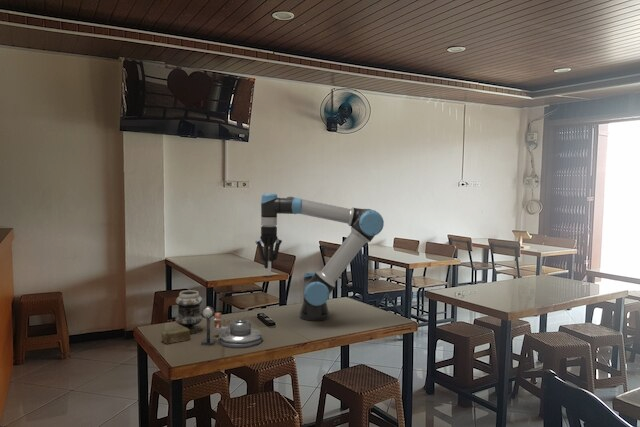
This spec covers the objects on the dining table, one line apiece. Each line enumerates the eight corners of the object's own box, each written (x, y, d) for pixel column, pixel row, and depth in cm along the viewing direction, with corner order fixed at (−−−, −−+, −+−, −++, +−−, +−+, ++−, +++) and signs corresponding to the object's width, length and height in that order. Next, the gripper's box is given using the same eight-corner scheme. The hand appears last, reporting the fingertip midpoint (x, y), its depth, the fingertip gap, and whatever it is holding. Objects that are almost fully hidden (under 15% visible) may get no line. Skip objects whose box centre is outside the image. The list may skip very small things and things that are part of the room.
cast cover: (238, 328, 218) (238, 315, 217) (255, 332, 214) (255, 319, 213) (225, 334, 210) (226, 320, 210) (242, 337, 206) (243, 323, 205)
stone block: (160, 341, 209) (160, 330, 209) (186, 336, 216) (186, 325, 216) (166, 345, 205) (166, 333, 204) (191, 340, 212) (191, 329, 211)
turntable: (227, 326, 225) (227, 308, 225) (268, 333, 216) (269, 314, 215) (202, 337, 209) (202, 317, 208) (246, 345, 200) (246, 325, 199)
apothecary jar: (203, 333, 221) (203, 294, 219) (176, 336, 216) (176, 296, 215) (200, 325, 232) (200, 288, 231) (174, 328, 228) (174, 290, 226)
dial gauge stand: (222, 341, 210) (222, 304, 209) (219, 345, 205) (219, 307, 204) (204, 340, 210) (204, 304, 209) (200, 344, 205) (200, 307, 204)
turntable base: (265, 334, 221) (265, 330, 221) (258, 348, 202) (259, 345, 202) (223, 333, 221) (223, 329, 221) (213, 347, 202) (213, 344, 202)
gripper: (278, 224, 238) (277, 272, 240) (253, 225, 232) (252, 274, 234) (284, 226, 232) (284, 275, 233) (259, 227, 226) (258, 277, 227)
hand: (268, 274), depth 234 cm, fingers closed
